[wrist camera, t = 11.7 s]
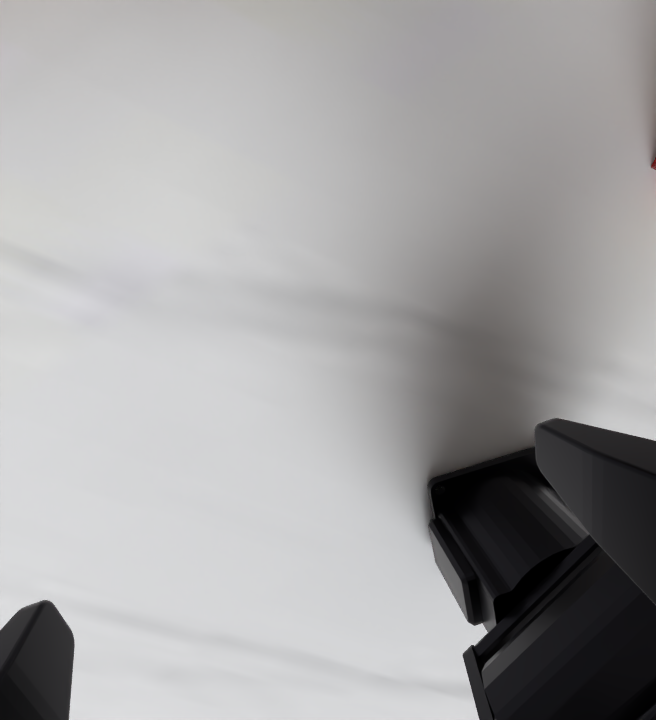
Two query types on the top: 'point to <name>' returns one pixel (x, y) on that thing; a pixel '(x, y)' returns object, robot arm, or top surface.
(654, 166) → the baking soda box
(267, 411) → the top surface
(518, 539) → the robot arm
